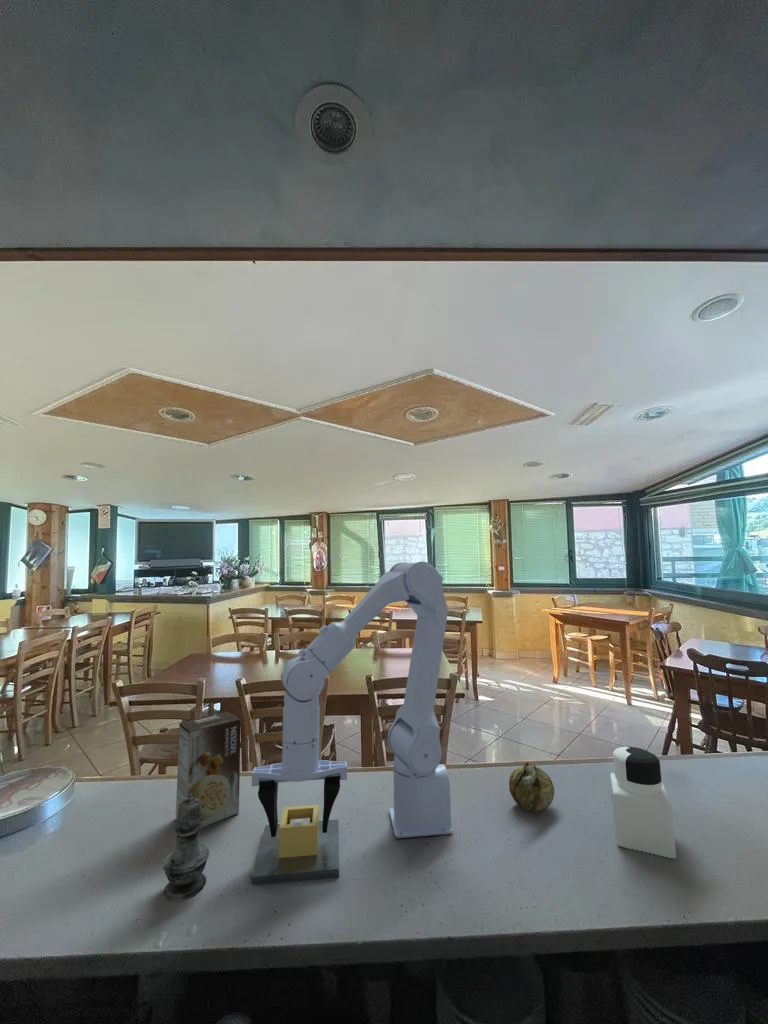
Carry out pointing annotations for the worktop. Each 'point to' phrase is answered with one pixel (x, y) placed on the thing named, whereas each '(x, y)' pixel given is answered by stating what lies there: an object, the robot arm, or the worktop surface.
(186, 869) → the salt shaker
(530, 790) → the onion
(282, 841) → the yellow square planter
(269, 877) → the grey square base plate
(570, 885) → the worktop surface
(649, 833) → the container
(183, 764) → the coffee box
